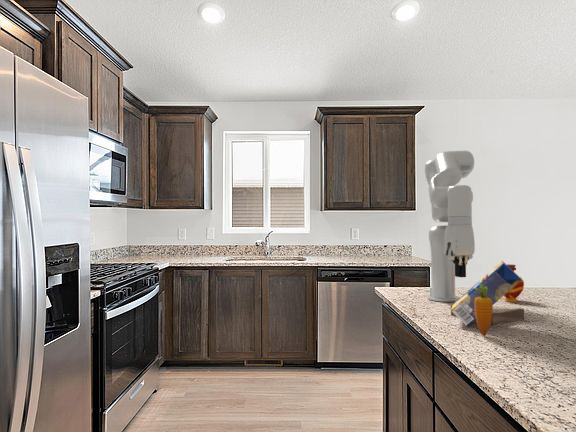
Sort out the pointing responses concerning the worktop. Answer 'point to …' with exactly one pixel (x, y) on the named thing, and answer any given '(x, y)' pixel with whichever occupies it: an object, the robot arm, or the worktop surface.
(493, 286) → the beverage box
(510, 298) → the potion bottle
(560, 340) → the worktop surface
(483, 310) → the carrot
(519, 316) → the u rest
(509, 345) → the worktop surface
